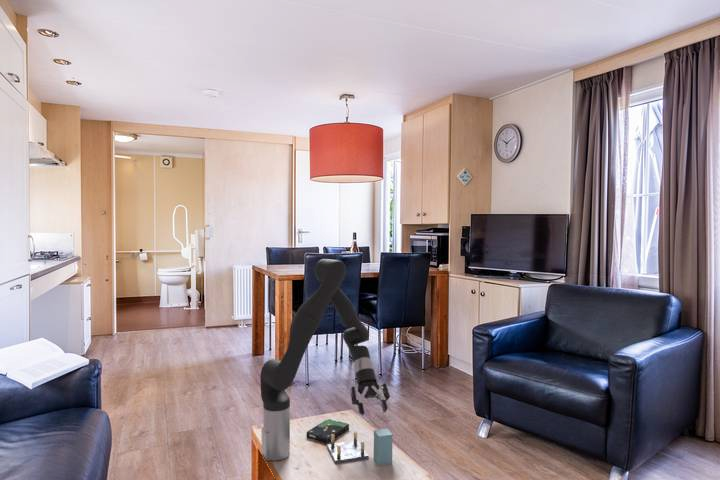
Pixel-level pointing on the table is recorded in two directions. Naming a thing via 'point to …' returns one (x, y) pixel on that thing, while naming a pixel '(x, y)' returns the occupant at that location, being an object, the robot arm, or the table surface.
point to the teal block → (383, 446)
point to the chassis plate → (347, 450)
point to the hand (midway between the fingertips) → (374, 413)
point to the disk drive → (327, 431)
